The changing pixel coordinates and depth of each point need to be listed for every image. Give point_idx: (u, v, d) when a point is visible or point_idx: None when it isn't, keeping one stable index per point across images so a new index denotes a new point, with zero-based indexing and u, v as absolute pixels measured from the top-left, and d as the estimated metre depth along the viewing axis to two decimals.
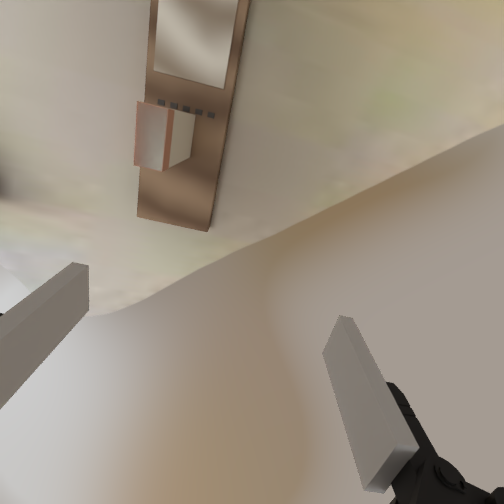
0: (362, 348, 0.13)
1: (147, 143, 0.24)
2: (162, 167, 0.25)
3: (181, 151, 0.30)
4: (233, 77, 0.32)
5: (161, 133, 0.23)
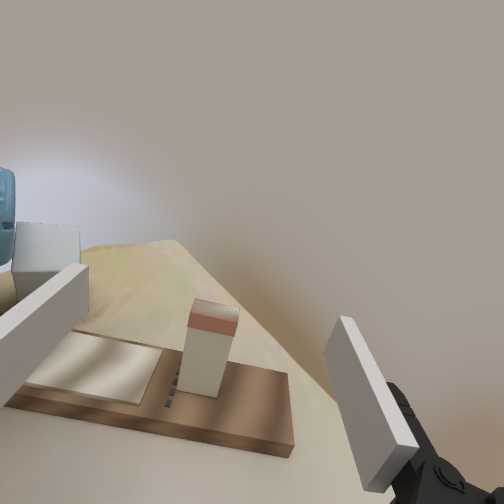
0: (362, 348, 0.13)
1: (219, 311, 0.30)
2: (236, 308, 0.31)
3: None
4: (154, 346, 0.39)
5: (212, 304, 0.31)
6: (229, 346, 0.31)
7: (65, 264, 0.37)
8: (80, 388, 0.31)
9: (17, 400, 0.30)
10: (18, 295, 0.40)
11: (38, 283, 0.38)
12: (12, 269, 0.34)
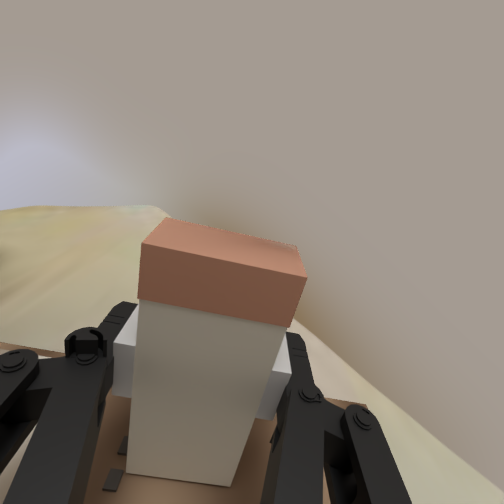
0: None
1: (242, 249, 0.09)
2: (287, 245, 0.11)
3: None
4: None
5: (216, 232, 0.10)
6: (272, 358, 0.10)
7: None
8: None
9: None
10: None
11: None
12: None
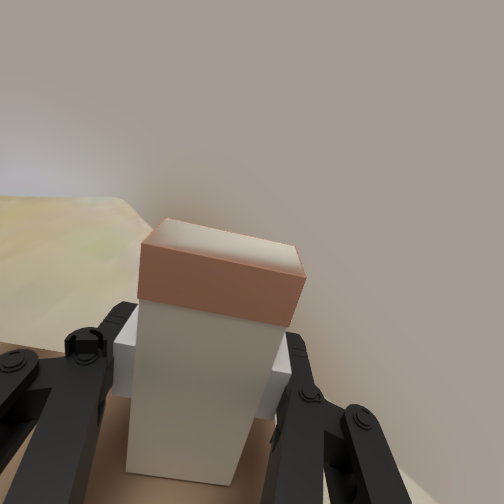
0: None
1: (241, 249, 0.09)
2: (286, 245, 0.11)
3: None
4: None
5: (215, 232, 0.10)
6: (271, 357, 0.10)
7: None
8: None
9: None
10: None
11: None
12: None
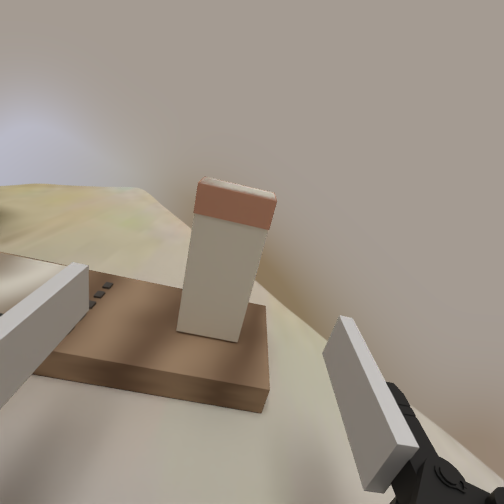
0: (362, 348, 0.13)
1: (245, 190, 0.19)
2: (269, 192, 0.20)
3: None
4: None
5: (231, 183, 0.19)
6: (260, 249, 0.19)
7: None
8: None
9: None
10: None
11: None
12: None
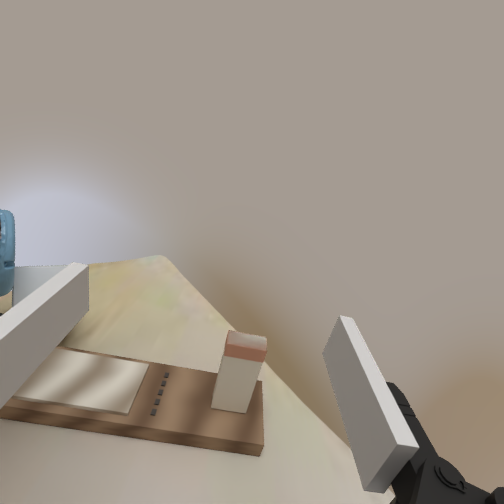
0: (362, 348, 0.13)
1: (250, 341, 0.35)
2: (263, 337, 0.37)
3: None
4: (141, 361, 0.44)
5: (243, 334, 0.36)
6: (258, 370, 0.36)
7: None
8: (75, 401, 0.35)
9: (20, 414, 0.34)
10: None
11: None
12: None
